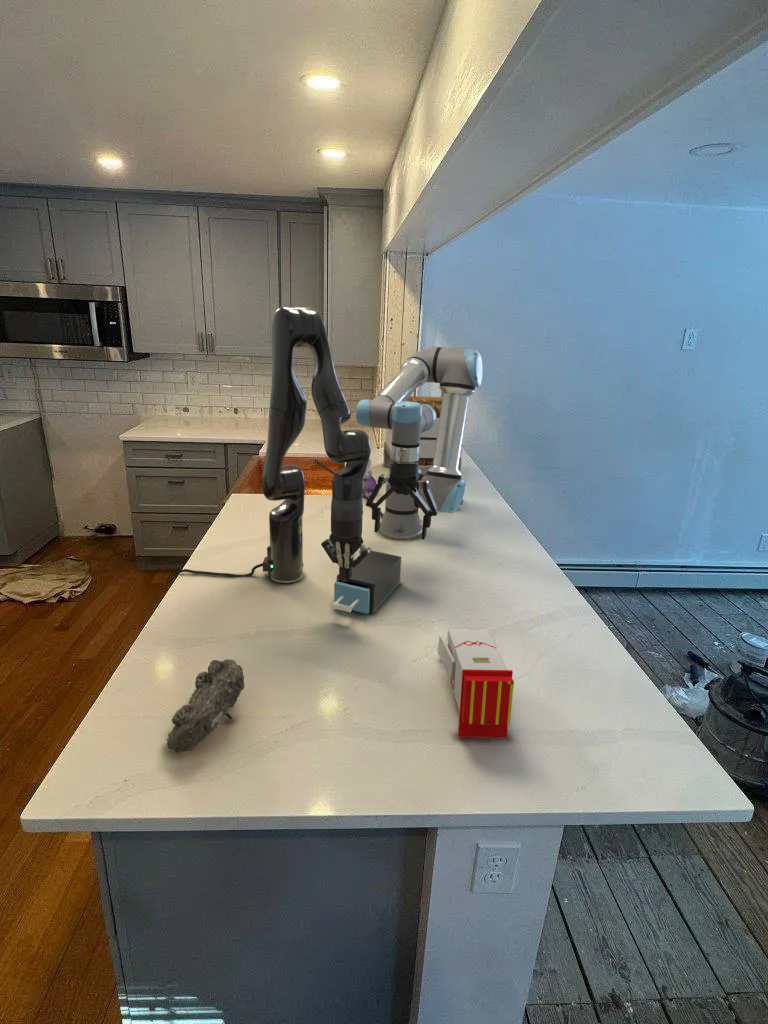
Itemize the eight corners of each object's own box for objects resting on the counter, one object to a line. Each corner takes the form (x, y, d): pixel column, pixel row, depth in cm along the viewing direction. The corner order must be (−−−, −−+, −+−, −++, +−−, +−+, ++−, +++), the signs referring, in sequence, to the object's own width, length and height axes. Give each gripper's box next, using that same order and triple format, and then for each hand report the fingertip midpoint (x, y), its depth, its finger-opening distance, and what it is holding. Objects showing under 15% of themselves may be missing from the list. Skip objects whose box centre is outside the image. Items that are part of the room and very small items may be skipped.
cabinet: (373, 613, 147) (374, 584, 144) (336, 604, 151) (336, 575, 148) (399, 583, 164) (401, 556, 161) (365, 575, 168) (366, 549, 165)
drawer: (357, 625, 140) (358, 601, 138) (323, 616, 143) (323, 593, 141) (393, 585, 161) (394, 564, 158) (362, 578, 164) (363, 557, 162)
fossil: (192, 660, 117) (244, 628, 112) (224, 691, 120) (276, 661, 115) (142, 746, 98) (202, 712, 93) (182, 779, 101) (242, 748, 96)
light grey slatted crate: (382, 463, 289) (386, 382, 275) (445, 464, 293) (451, 384, 279) (390, 482, 257) (394, 392, 243) (460, 483, 261) (468, 394, 247)
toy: (488, 613, 130) (523, 677, 101) (484, 667, 133) (517, 744, 104) (435, 612, 130) (455, 676, 101) (432, 666, 133) (451, 743, 103)
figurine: (361, 499, 234) (363, 463, 229) (351, 491, 242) (352, 457, 237) (382, 496, 238) (383, 461, 233) (371, 489, 246) (372, 456, 241)
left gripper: (314, 514, 133) (314, 580, 139) (365, 523, 129) (363, 591, 135) (329, 504, 140) (328, 568, 146) (378, 514, 135) (375, 579, 141)
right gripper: (356, 458, 152) (353, 532, 159) (447, 469, 145) (441, 545, 153) (364, 452, 159) (362, 523, 166) (452, 462, 152) (446, 536, 159)
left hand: (345, 579), depth 140 cm, fingers closed
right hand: (400, 534), depth 159 cm, fingers open, 13 cm apart
